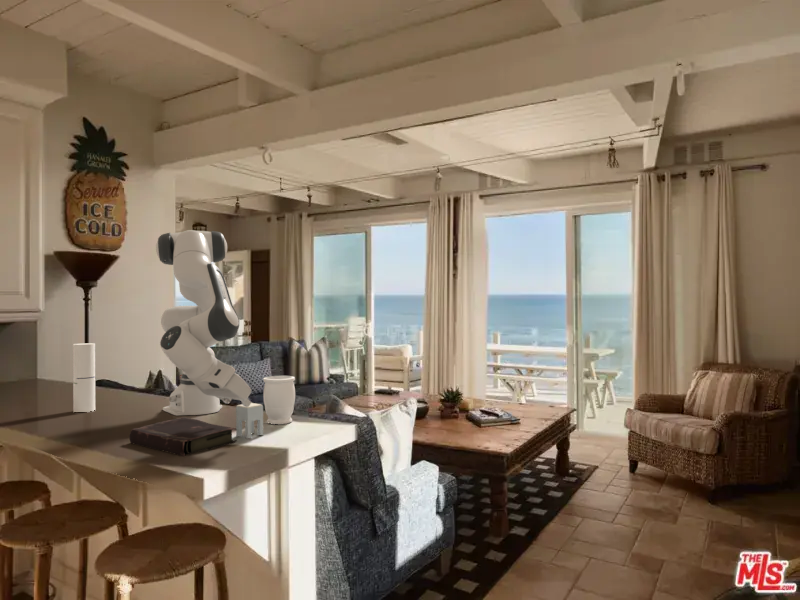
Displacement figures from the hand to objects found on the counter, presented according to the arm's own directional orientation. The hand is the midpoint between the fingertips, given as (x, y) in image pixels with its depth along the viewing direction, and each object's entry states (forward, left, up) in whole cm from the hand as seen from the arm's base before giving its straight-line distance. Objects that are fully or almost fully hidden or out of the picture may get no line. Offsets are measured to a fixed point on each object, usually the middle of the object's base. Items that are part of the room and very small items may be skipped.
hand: (238, 403), depth 165 cm
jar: (-9, +23, -11) cm, 27 cm away
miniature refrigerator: (-83, -8, -11) cm, 84 cm away
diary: (-10, -12, -11) cm, 19 cm away
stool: (-1, +5, -11) cm, 12 cm away
